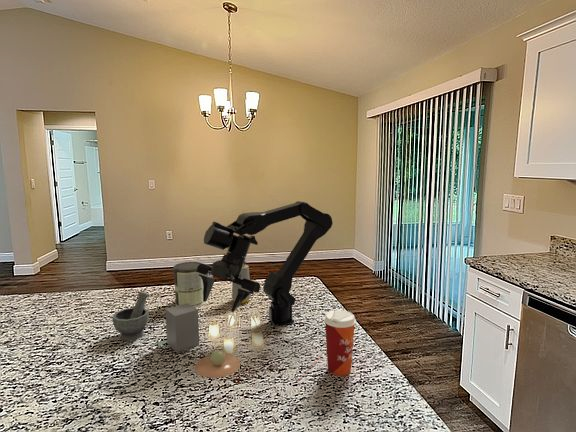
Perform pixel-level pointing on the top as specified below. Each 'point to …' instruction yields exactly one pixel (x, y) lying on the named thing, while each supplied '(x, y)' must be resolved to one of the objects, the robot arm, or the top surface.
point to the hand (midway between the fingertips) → (218, 306)
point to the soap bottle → (235, 286)
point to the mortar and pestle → (132, 319)
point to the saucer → (219, 370)
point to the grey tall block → (182, 327)
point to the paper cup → (339, 341)
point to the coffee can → (188, 284)
